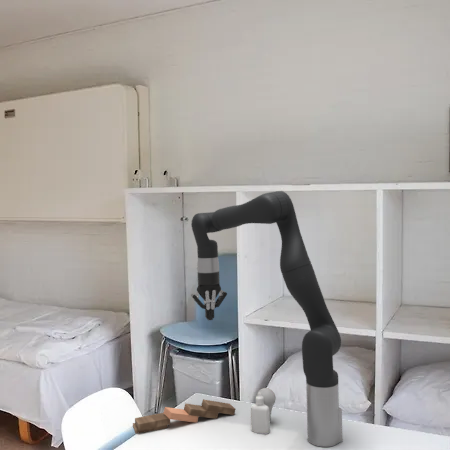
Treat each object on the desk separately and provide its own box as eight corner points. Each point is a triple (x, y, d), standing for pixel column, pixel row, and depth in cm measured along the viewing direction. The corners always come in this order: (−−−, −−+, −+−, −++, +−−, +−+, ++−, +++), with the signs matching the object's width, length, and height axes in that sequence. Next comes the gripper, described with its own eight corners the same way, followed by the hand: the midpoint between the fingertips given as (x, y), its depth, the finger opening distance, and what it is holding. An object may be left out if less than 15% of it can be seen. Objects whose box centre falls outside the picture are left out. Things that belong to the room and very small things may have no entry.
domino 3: (191, 410, 175) (165, 407, 170) (198, 416, 171) (171, 412, 166) (190, 416, 175) (163, 413, 170) (196, 422, 170) (169, 419, 166)
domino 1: (165, 412, 172) (134, 418, 168) (170, 418, 167) (138, 424, 163) (165, 418, 172) (135, 424, 168) (170, 424, 167) (138, 430, 163)
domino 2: (163, 417, 172) (132, 423, 169) (167, 424, 167) (135, 429, 164) (164, 424, 172) (132, 429, 169) (167, 430, 167) (135, 436, 164)
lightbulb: (263, 416, 173) (262, 383, 172) (279, 421, 170) (278, 387, 169) (253, 423, 168) (252, 389, 167) (269, 428, 165) (268, 393, 164)
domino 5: (230, 403, 180) (203, 399, 176) (235, 409, 175) (208, 404, 172) (228, 409, 180) (201, 405, 176) (234, 414, 175) (206, 410, 172)
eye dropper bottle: (260, 426, 166) (259, 388, 166) (272, 432, 162) (270, 393, 161) (249, 430, 164) (248, 391, 163) (260, 436, 159) (259, 397, 159)
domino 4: (212, 407, 178) (185, 403, 174) (218, 412, 173) (190, 408, 169) (211, 413, 177) (183, 409, 173) (216, 418, 173) (188, 415, 169)
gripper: (192, 273, 179) (194, 324, 180) (229, 270, 183) (231, 320, 184) (187, 270, 186) (188, 319, 187) (223, 267, 190) (224, 315, 191)
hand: (210, 319), depth 186 cm, fingers closed
